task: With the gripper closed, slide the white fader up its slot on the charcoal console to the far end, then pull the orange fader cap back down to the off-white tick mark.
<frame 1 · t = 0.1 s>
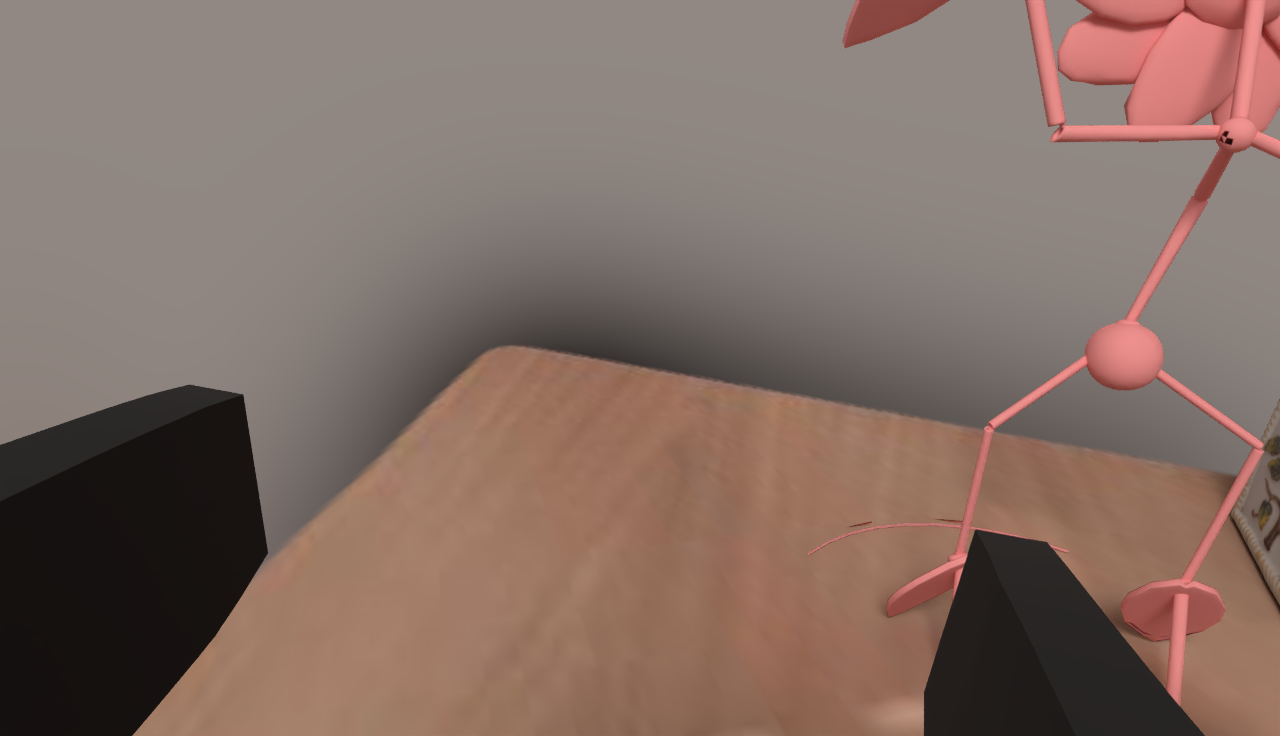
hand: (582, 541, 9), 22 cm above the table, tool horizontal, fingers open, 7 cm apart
pink flower sculpture: (1011, 617, 43), on the table
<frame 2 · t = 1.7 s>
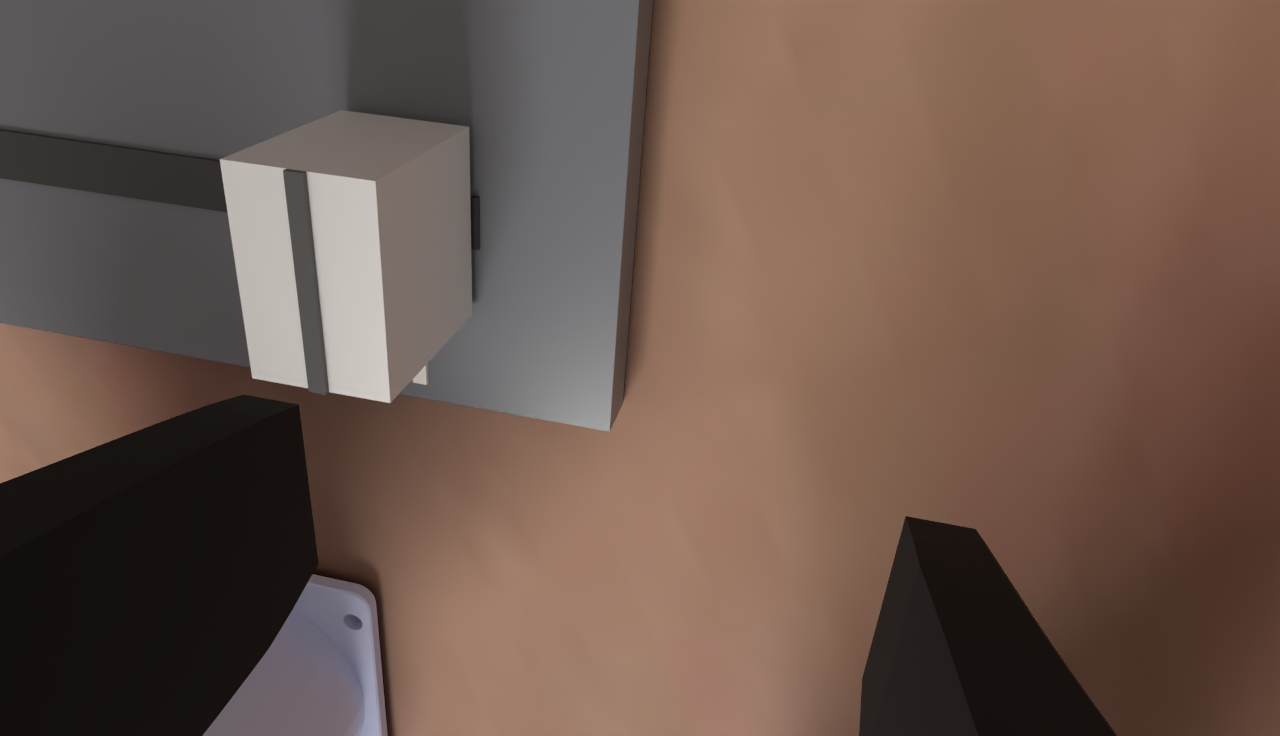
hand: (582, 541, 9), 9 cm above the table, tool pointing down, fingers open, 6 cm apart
white fader: (362, 249, 15), point 3 cm above the table, slide at 0.0 cm
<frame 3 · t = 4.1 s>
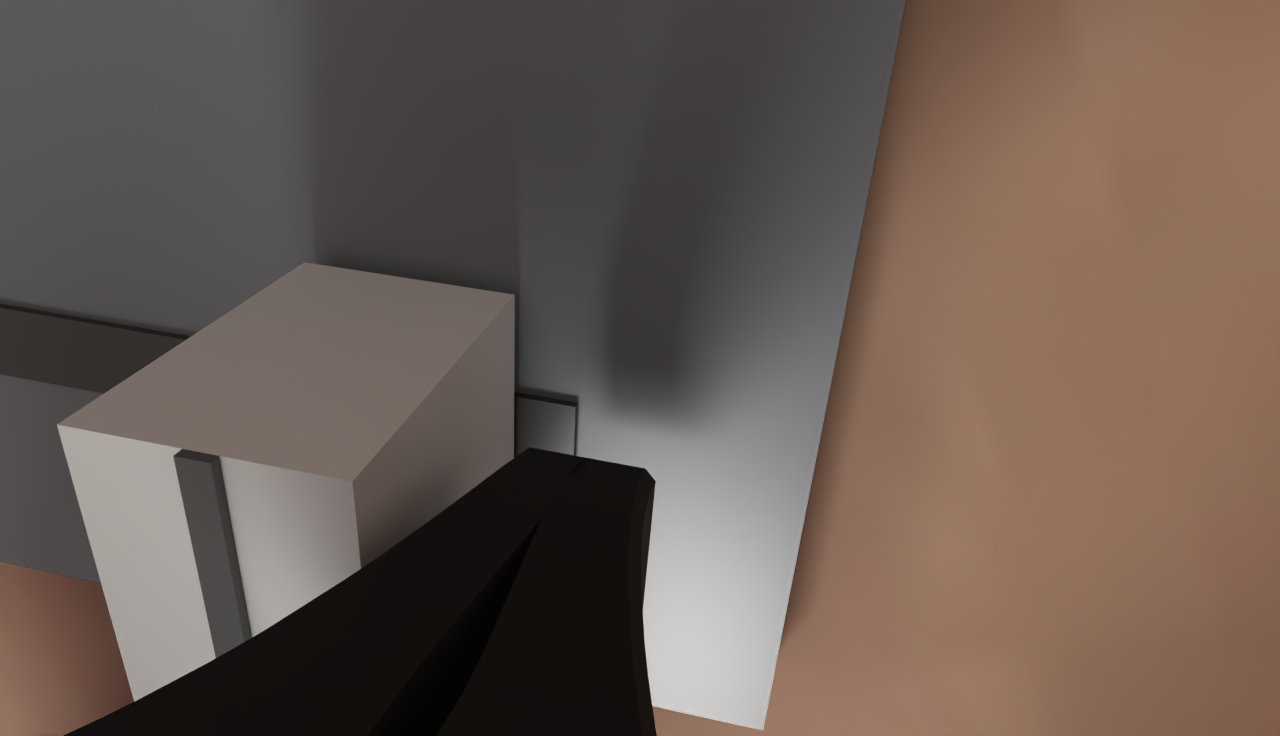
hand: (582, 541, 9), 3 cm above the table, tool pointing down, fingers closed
white fader: (338, 512, 9), point 3 cm above the table, slide at 0.6 cm, touching gripper
console: (30, 40, 11), on the table
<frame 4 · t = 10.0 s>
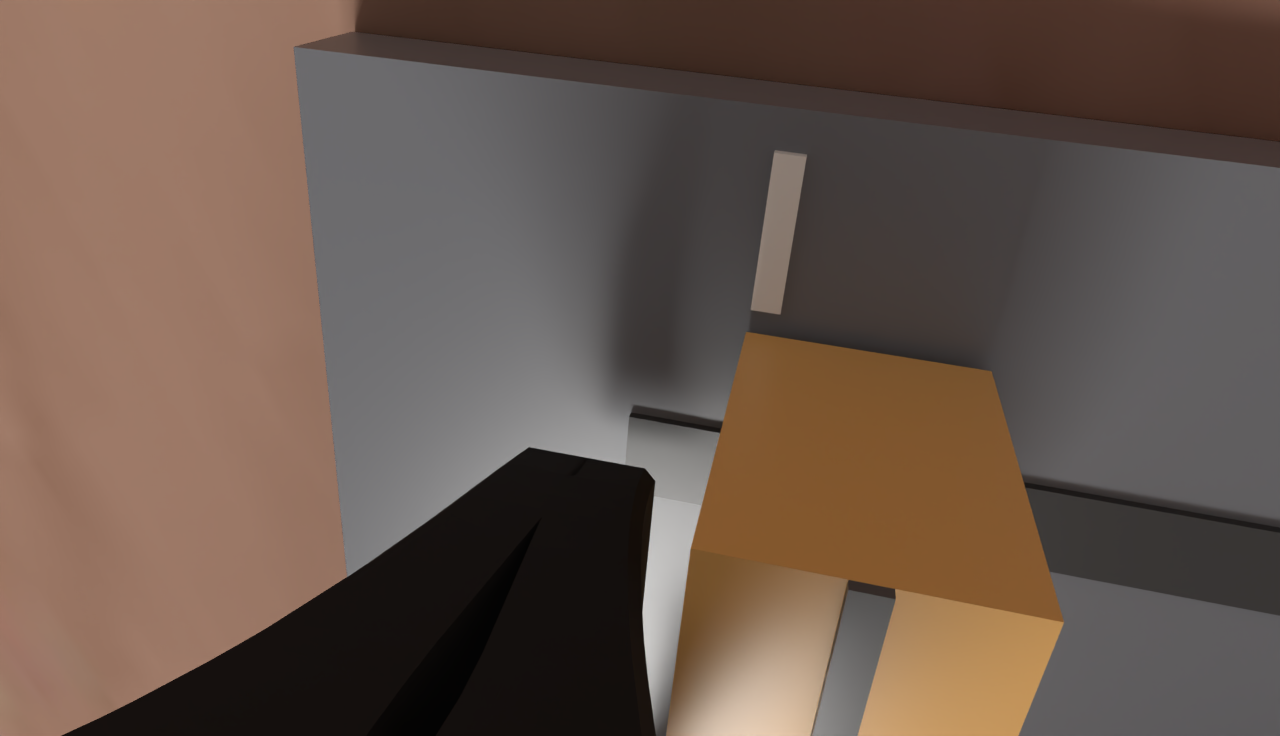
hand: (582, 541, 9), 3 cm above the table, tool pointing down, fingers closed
orange fader: (829, 612, 8), point 3 cm above the table, slide at 9.9 cm, touching gripper
console: (1086, 704, 12), on the table
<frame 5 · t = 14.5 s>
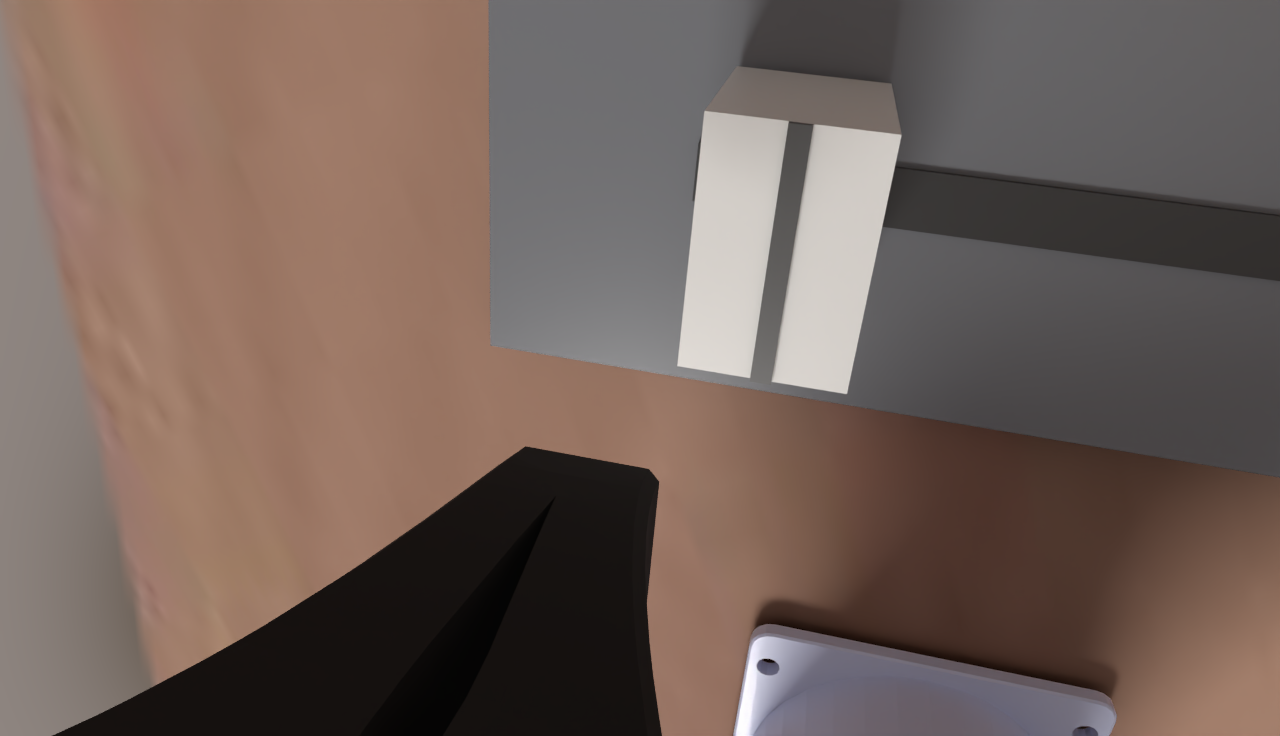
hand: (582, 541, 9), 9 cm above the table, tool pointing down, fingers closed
white fader: (788, 220, 13), point 3 cm above the table, slide at 10.6 cm
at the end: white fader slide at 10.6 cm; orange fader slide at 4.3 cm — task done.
